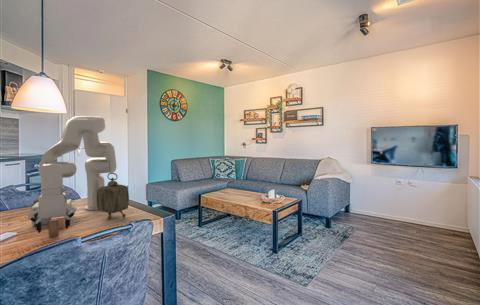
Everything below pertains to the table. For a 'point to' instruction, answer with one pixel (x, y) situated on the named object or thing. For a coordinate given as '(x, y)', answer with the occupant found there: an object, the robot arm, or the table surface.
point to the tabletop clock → (112, 197)
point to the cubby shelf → (35, 207)
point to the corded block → (55, 226)
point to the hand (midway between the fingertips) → (53, 229)
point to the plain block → (44, 220)
